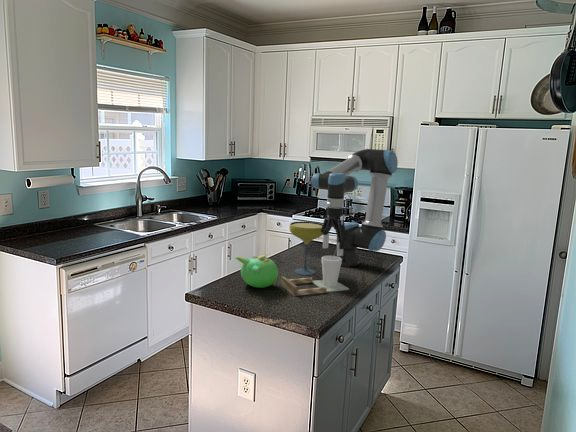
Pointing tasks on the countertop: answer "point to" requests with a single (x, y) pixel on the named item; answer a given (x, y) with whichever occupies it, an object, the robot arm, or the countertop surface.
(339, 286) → the pad
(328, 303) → the countertop surface
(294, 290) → the wooden u-shaped frame
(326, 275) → the foam cup
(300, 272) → the cocktail glass
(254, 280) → the toy bird
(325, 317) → the countertop surface
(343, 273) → the countertop surface
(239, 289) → the countertop surface
